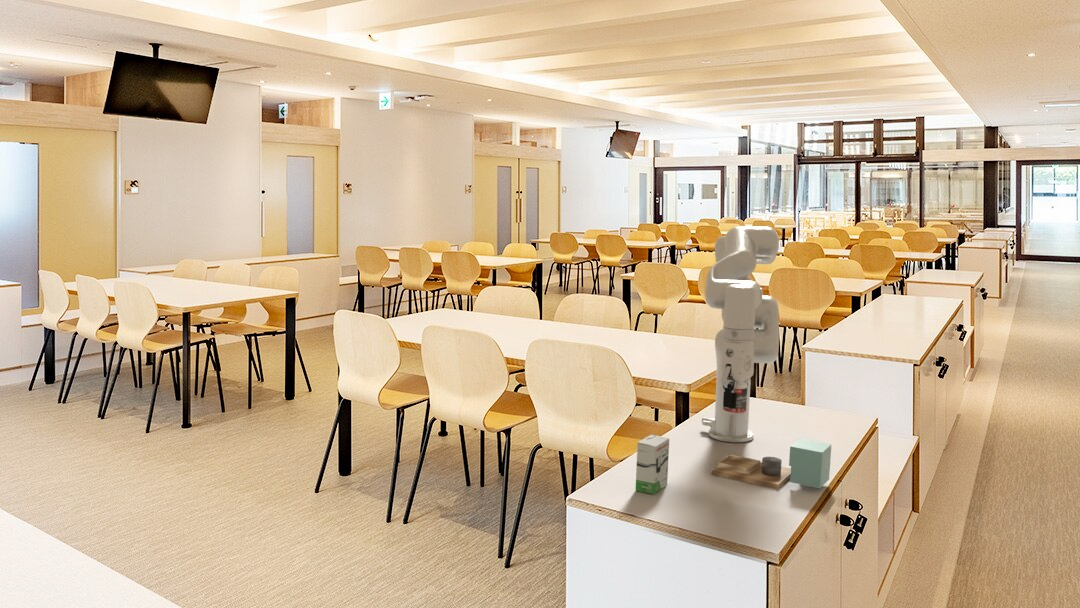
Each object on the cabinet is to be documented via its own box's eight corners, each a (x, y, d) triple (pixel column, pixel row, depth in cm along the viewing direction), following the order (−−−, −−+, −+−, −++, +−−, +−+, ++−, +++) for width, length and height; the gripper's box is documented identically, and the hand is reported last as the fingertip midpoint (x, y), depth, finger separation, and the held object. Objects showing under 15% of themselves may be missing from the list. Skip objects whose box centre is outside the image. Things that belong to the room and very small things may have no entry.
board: (711, 474, 209) (712, 456, 208) (730, 460, 219) (731, 443, 218) (778, 489, 199) (779, 470, 198) (795, 473, 210) (796, 455, 209)
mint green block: (788, 481, 200) (790, 446, 199) (797, 472, 206) (800, 438, 205) (820, 488, 196) (822, 452, 195) (829, 479, 202) (831, 444, 201)
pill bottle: (732, 416, 206) (734, 377, 204) (718, 410, 211) (719, 372, 209) (750, 413, 208) (752, 375, 207) (736, 408, 213) (738, 370, 212)
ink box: (653, 495, 194) (655, 446, 192) (634, 490, 197) (636, 442, 195) (668, 484, 201) (670, 436, 200) (649, 480, 204) (651, 433, 202)
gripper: (738, 341, 197) (734, 415, 200) (766, 331, 211) (762, 400, 214) (709, 337, 202) (706, 409, 205) (738, 327, 216) (734, 395, 218)
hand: (734, 404), depth 209 cm, fingers closed on pill bottle, 5 cm apart
